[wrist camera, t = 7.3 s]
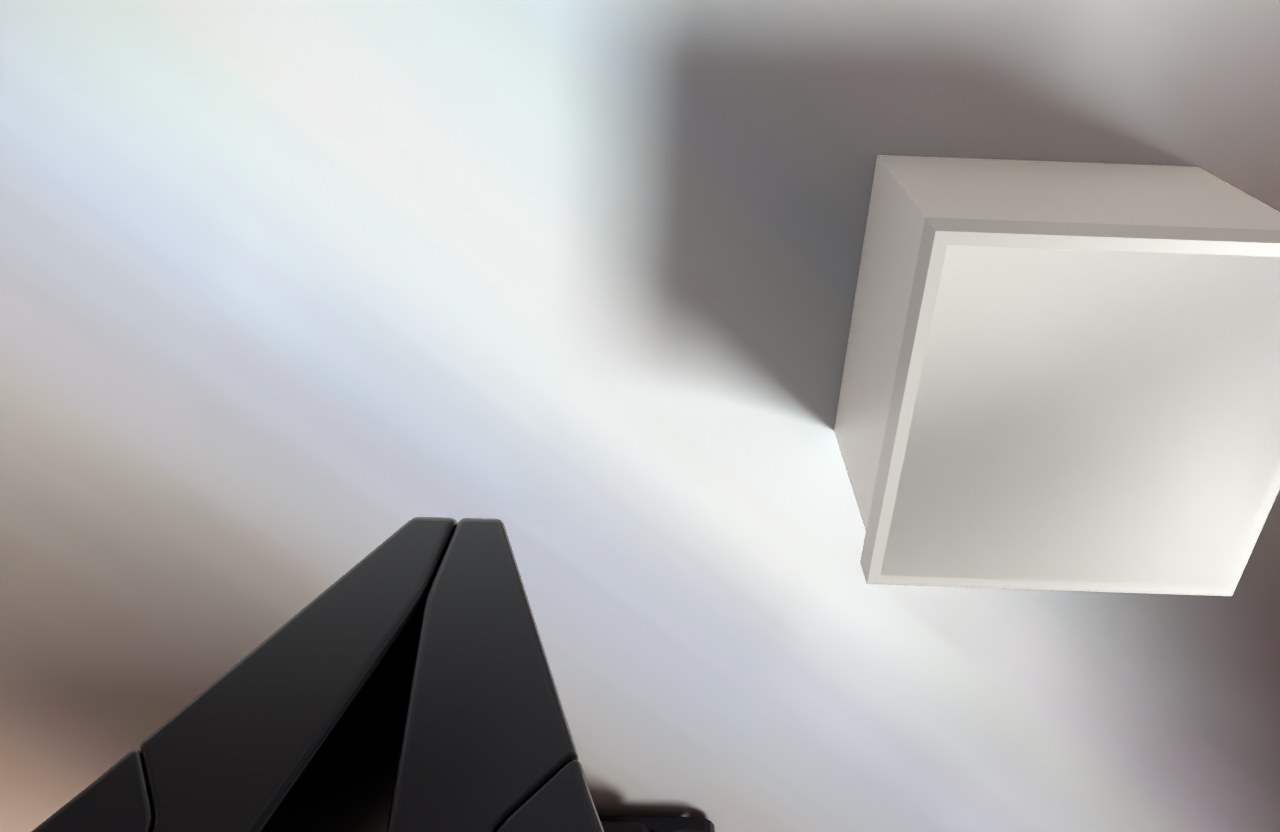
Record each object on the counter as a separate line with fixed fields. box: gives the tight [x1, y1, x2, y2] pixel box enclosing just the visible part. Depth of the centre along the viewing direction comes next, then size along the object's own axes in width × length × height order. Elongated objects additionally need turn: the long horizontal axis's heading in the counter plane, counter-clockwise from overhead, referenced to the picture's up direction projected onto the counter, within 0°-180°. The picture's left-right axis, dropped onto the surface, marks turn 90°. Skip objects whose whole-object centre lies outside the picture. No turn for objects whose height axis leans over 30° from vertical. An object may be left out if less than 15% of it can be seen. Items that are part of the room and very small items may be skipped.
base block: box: [834, 155, 1280, 596], centre depth 17 cm, size 6×6×5 cm
